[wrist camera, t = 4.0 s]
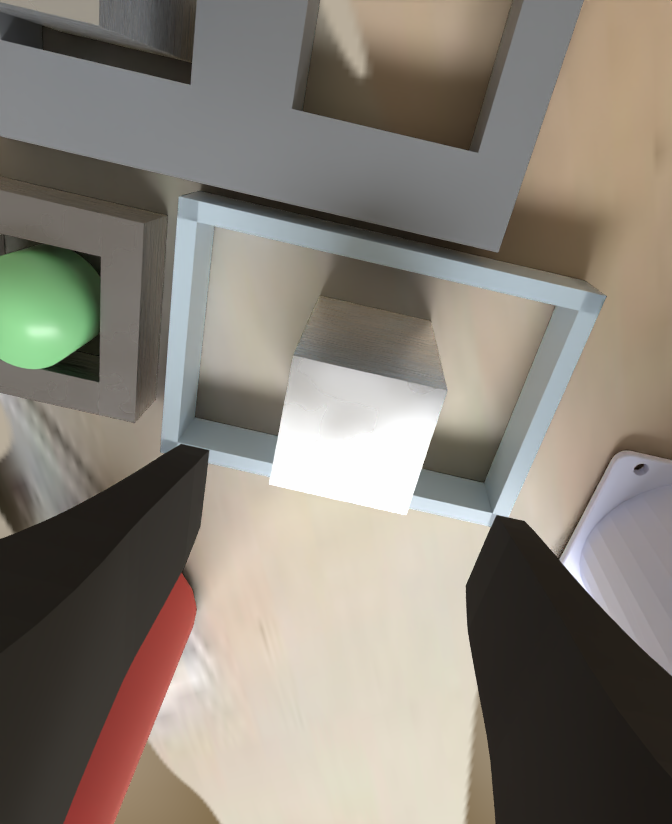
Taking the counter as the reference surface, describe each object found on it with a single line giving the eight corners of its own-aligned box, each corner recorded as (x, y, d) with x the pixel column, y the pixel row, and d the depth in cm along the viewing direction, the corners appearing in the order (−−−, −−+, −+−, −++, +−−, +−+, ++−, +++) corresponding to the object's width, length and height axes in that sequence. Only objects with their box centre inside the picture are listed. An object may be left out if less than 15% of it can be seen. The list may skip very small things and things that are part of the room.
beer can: (74, 629, 28) (-123, 935, 17) (56, 526, 25) (-195, 818, 14) (202, 647, 28) (83, 968, 17) (199, 545, 25) (54, 857, 14)
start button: (110, 257, 19) (73, 272, 16) (108, 354, 20) (74, 379, 18) (5, 233, 19) (-45, 245, 16) (12, 332, 20) (-33, 355, 18)
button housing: (167, 215, 18) (143, 223, 17) (155, 399, 21) (134, 423, 20) (-39, 167, 18) (-86, 170, 16) (-21, 359, 21) (-58, 379, 20)
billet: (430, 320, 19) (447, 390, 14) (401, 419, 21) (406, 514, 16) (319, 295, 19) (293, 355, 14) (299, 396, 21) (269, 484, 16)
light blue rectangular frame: (585, 280, 18) (606, 296, 16) (493, 498, 22) (502, 529, 20) (199, 190, 18) (179, 196, 16) (178, 426, 22) (160, 452, 20)
